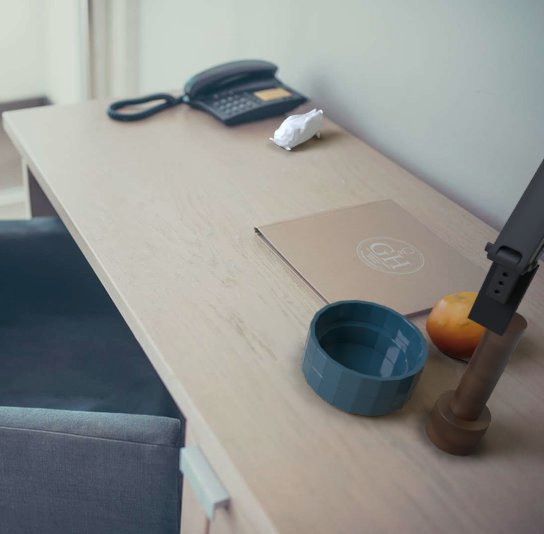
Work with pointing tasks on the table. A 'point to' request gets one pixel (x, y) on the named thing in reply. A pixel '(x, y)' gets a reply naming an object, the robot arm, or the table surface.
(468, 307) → the fruit
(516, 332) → the muddler
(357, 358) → the bowl
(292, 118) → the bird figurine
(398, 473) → the table surface
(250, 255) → the table surface
